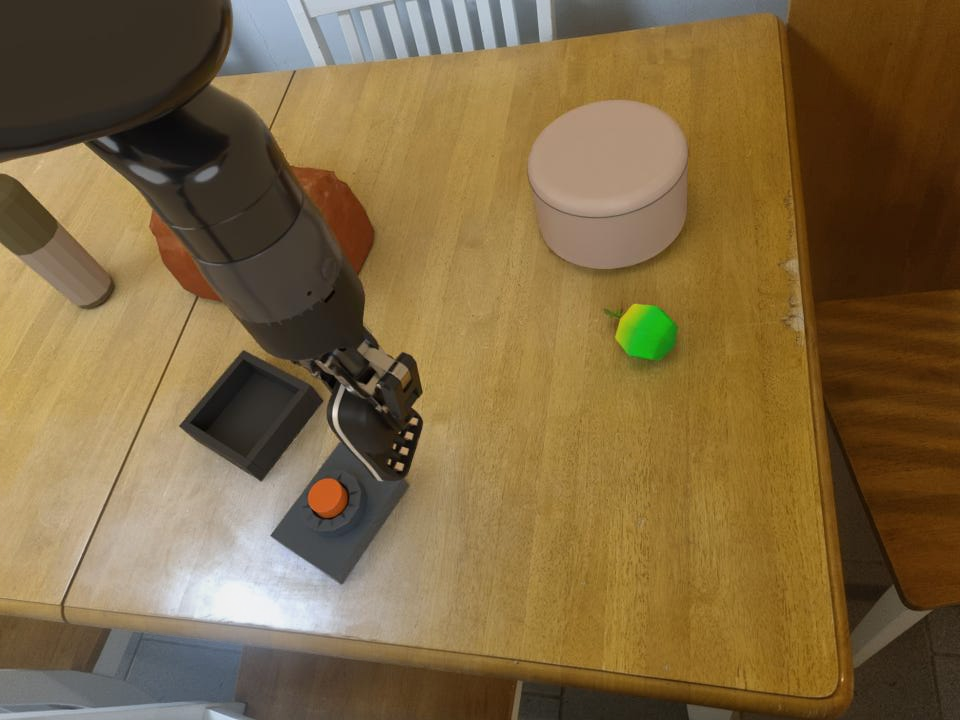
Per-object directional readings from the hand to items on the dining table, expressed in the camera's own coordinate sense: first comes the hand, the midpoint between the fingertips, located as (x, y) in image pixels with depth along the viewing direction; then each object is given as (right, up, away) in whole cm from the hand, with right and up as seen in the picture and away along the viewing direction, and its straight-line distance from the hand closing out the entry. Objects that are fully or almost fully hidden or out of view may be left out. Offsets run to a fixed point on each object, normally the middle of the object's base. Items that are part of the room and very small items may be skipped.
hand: (375, 407), depth 57 cm
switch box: (-6, -13, +21) cm, 25 cm away
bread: (-19, +17, +43) cm, 50 cm away
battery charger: (+2, -4, +6) cm, 8 cm away
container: (+25, +21, +34) cm, 47 cm away
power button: (-7, -11, +18) cm, 22 cm away
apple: (+26, +5, +24) cm, 36 cm away
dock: (-18, -3, +30) cm, 35 cm away
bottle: (-47, +13, +48) cm, 69 cm away
